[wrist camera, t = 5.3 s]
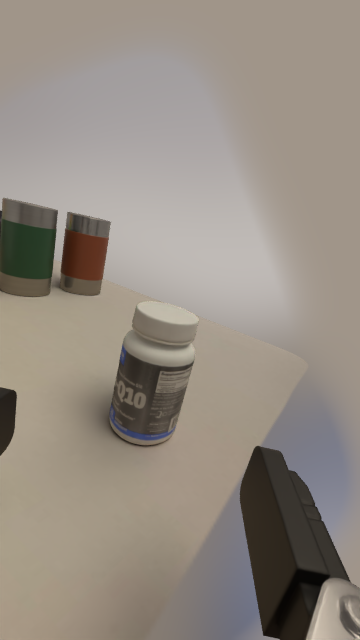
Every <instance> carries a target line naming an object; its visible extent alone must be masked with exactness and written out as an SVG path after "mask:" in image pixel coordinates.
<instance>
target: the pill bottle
mask: <svg viewBox="0 0 360 640" xmlns="http://www.w3.org/2000/svg"><path fill="white" fill-rule="evenodd" d="M132 322H133V324H132V327H133V330H131V331H130V332H128V333H127V334H126V336H125V338H124V341H123V345H122V350H121V355H120V362H119V367H118V372H117V377H116V382H115V386H114V393H113V398H112V403H111V408H110V416H109V419H110V424H111V426H112V428H113V430H114V431H115V432H116V433H117V434H118V435H119V436H120V437H121V438H123V439H125V440H126V441H129V442H131V443H134V444H139V445H154V444H158V443H162V442H164V441H166V440H167V439H169V438H170V437H171V436H172V434H173V433H174V431H175V428H176V424H177V421H178V417H179V413H180V410H181V406H182V402H183V399H184V395H185V391H186V388H187V384H188V381H189V377H190V373H191V370H192V366H193V363H194V360H195V348H194V346H193V345H192V342H193V341H194V337H195V335H196V330H197V326H198V322H199V319H198V317H197V316H196V315H194V314H193V313H191V312H190V311H188V310H185V309H183V308H180V307H178V306H175V305H171V304H167V303H161V302H154V301H146V302H140V303H138V304H137V306H136V309H135V314H134V317H133V321H132Z"/></svg>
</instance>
